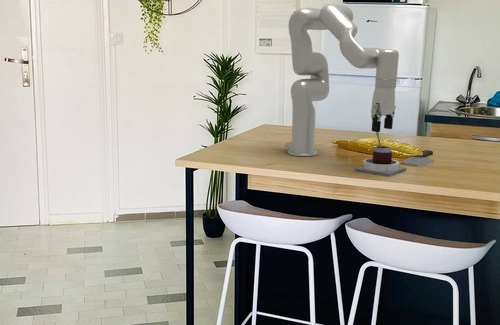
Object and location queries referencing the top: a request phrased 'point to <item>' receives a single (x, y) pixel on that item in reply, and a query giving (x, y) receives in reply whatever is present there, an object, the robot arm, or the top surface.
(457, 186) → the top surface
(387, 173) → the housing
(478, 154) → the top surface
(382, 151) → the mate gourd
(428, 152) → the cleaver
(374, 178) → the top surface
